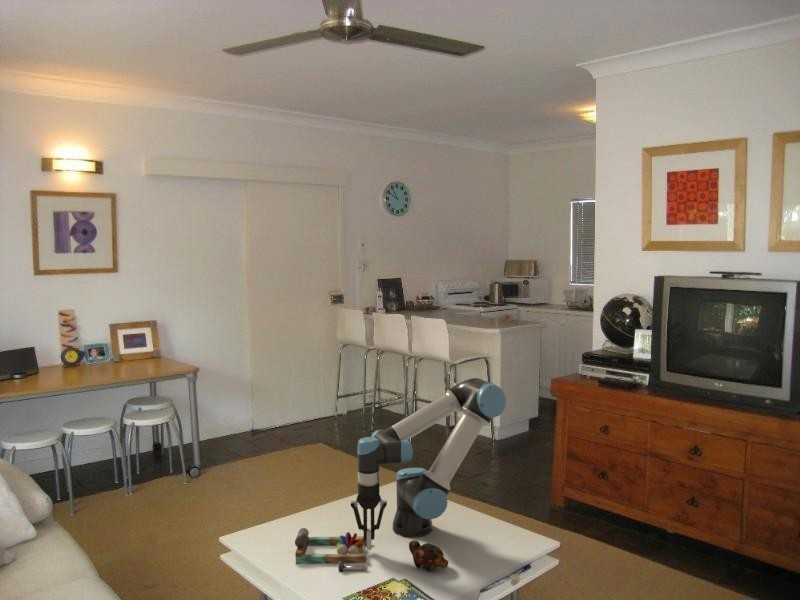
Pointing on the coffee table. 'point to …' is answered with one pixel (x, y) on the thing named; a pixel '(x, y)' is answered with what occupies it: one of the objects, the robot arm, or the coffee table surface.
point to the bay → (303, 558)
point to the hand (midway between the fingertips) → (369, 548)
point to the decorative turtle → (427, 555)
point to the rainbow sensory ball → (349, 544)
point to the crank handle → (350, 567)
